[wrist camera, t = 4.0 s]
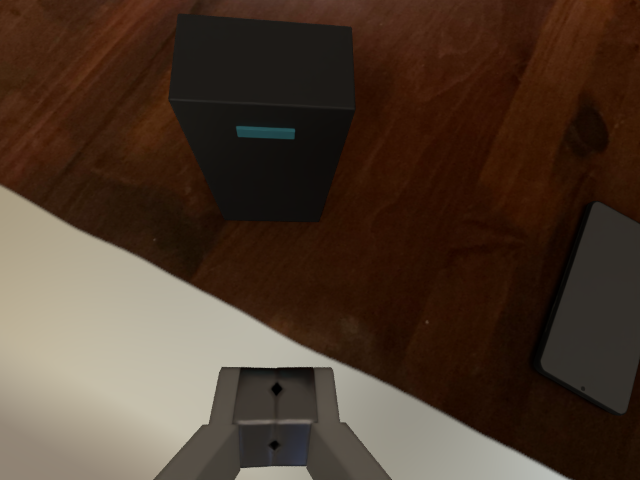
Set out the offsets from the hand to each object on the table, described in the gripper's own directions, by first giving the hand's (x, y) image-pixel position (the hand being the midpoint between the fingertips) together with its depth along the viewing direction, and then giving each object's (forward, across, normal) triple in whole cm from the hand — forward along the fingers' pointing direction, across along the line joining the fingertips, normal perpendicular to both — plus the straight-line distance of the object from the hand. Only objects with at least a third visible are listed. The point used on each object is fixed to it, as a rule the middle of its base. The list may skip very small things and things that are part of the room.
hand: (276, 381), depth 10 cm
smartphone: (+14, -24, +8) cm, 29 cm away
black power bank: (+19, +1, +3) cm, 19 cm away
